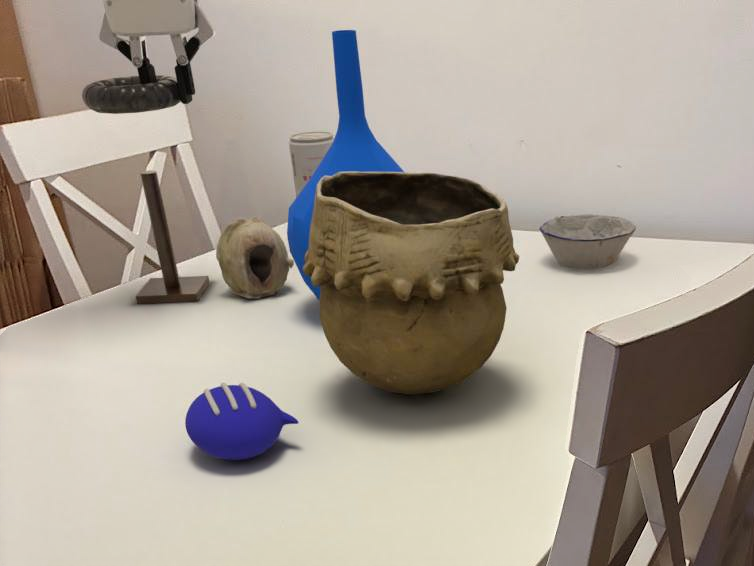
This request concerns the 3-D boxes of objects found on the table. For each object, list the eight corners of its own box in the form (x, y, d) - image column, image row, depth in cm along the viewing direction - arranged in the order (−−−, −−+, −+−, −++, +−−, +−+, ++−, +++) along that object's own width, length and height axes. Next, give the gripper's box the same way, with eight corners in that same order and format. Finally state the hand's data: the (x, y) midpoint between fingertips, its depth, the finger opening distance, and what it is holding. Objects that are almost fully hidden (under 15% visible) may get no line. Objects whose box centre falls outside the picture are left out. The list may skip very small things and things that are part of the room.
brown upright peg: (136, 304, 129) (107, 180, 120) (151, 285, 136) (125, 166, 127) (197, 301, 129) (172, 177, 120) (209, 283, 135) (187, 164, 127)
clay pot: (519, 347, 111) (517, 154, 99) (521, 427, 94) (519, 204, 82) (335, 352, 112) (312, 160, 100) (304, 432, 95) (272, 212, 83)
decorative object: (288, 393, 85) (174, 423, 85) (307, 454, 89) (197, 484, 88) (280, 356, 94) (177, 383, 93) (298, 413, 97) (198, 439, 96)
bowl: (522, 266, 136) (522, 229, 133) (568, 244, 145) (568, 209, 142) (605, 279, 130) (607, 241, 127) (648, 255, 139) (651, 218, 136)
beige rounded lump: (230, 313, 132) (190, 241, 127) (268, 285, 137) (231, 214, 132) (276, 301, 126) (236, 225, 121) (315, 272, 131) (278, 198, 126)
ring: (74, 117, 114) (67, 90, 113) (103, 102, 124) (96, 76, 122) (173, 112, 114) (168, 85, 113) (194, 97, 124) (190, 71, 122)
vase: (441, 328, 117) (424, 36, 100) (288, 333, 118) (244, 43, 100) (444, 281, 132) (430, 20, 115) (308, 286, 132) (273, 26, 115)
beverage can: (304, 240, 152) (290, 132, 143) (347, 238, 152) (335, 130, 143) (301, 252, 146) (286, 140, 138) (345, 249, 147) (333, 138, 138)
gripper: (215, -90, 111) (244, 95, 122) (69, -82, 111) (111, 101, 122) (201, -90, 105) (233, 104, 116) (47, -82, 105) (94, 111, 116)
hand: (170, 101), depth 119 cm, fingers closed on ring, 3 cm apart
